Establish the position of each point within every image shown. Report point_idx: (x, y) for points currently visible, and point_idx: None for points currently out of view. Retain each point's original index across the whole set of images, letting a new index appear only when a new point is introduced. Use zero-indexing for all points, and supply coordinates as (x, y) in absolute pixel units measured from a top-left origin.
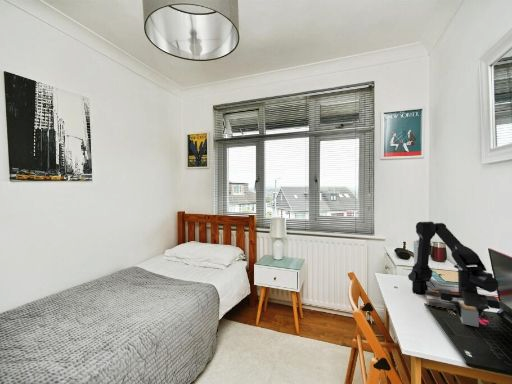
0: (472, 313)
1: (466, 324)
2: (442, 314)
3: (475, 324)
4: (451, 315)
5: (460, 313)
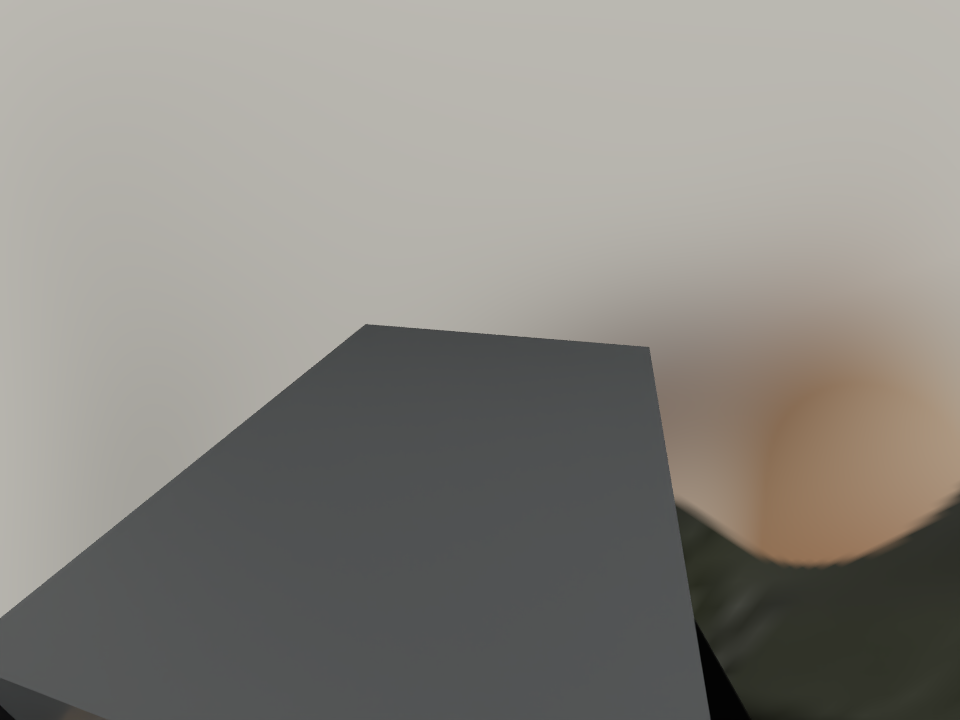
0: (264, 591)
1: (570, 343)
2: (868, 640)
3: (398, 348)
4: (700, 623)
5: None
